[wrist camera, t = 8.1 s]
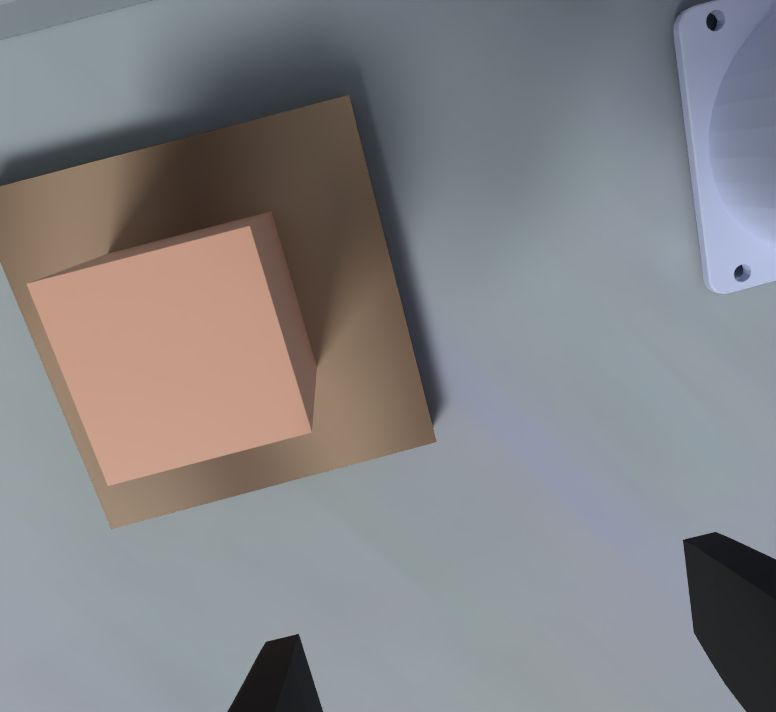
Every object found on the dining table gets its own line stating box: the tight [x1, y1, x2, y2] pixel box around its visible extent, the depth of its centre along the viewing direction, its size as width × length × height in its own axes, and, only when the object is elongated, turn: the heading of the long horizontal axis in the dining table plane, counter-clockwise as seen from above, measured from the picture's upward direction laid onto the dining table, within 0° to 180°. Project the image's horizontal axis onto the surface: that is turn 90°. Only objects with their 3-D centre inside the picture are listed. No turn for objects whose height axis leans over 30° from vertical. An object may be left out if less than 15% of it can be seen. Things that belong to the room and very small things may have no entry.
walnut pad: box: [0, 95, 436, 529], centre depth 19 cm, size 10×10×1 cm
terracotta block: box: [27, 211, 317, 486], centre depth 16 cm, size 4×4×5 cm
